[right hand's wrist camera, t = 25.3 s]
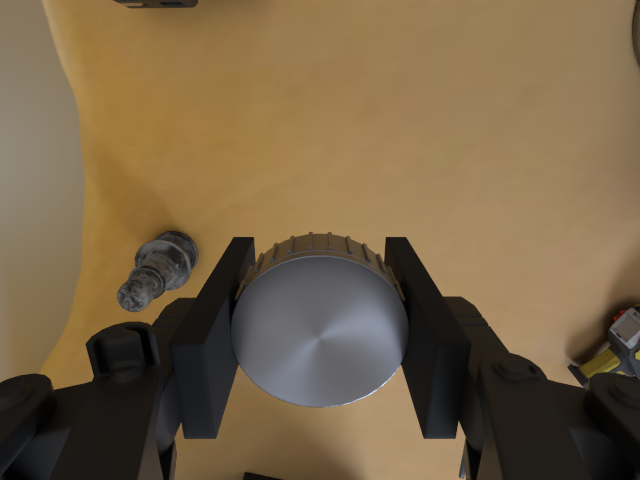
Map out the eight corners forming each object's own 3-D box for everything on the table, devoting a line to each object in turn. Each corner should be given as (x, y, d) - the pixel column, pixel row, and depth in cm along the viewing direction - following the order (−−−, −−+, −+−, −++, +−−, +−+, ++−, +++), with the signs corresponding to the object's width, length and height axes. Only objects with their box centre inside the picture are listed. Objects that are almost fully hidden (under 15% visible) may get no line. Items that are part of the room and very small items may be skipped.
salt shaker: (146, 268, 44) (85, 327, 32) (152, 222, 42) (90, 268, 30) (196, 281, 44) (153, 344, 33) (205, 236, 42) (162, 287, 31)
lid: (242, 221, 11) (229, 242, 9) (415, 240, 11) (431, 263, 10) (236, 364, 13) (224, 401, 11) (385, 378, 13) (394, 416, 11)
